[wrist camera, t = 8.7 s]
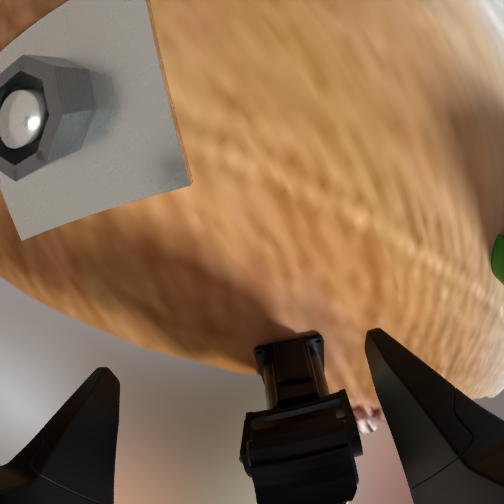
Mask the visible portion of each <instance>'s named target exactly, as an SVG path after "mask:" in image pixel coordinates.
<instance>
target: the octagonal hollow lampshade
mask: <svg viewBox="0 0 504 504" xmlns="http://www.w3.org/2000/svg"><path fill="white" fill-rule="evenodd" d="M41 81H42V82H43V88H44V93H45V98H46V103H47V108H48V112H49V117H48V120H47V123H46V126H45V129H44V132H43V135H42V138H41V141H40V144H38V143H37V142H33V143H30V144H27V145H24V146H22V147H19V148H15V149H14V148H9V147H8V146H6V145H5V144H4V142H3V141H2V139H1V137H0V171H1V172H2V173H4V174H5V175H6V176H8V177H9V178H11V179H12V180H14V181H15V182H17V181H18V180H20V179H22V178H24V177H26V176H28V175H30V174H32V173H34V172H35V171H37V170H39V169H41V168H43V167H46V166H48V165H50V164H52V163H54V162H56V161H58V160H59V159H61V158H64V157H66V156H68V155H70V154H72V153H74V152H76V151H78V150H80V149H81V147H82V145H83V142H84V140H85V137H86V135H87V132H88V130H89V128H90V125H91V123H92V121H93V118H94V116H95V114H96V112H97V110H98V108H97V104H96V100H95V95H94V91H93V86H92V82H91V77H90V72H89V69H87V68H84V67H82V66H80V65H77V64H75V63H72V62H70V61H67V60H65V59H62V58H58V57H49V56H38V55H22V56H21V57H19V58H18V59H17V60H16V61H14V62H13V63H12V64H11V65H10V66H9V67H7V68H6V69H5V70H4V71H3V72H2V73H1V74H0V110H1V107H2V105H3V103H4V101H5V100H6V98H7V97H8V96H9V95H10V94H11V93H13V92H15V91H19V90H28V89H34V88H35V86H36V85H37V84H39V83H40V82H41Z"/></svg>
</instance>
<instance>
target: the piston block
mask: <svg viewBox="0 0 504 504" xmlns="http://www.w3.org/2000/svg"><path fill="white" fill-rule="evenodd" d="M22 55H38V56H49V57H58V58H62V59H65V60H67V61H70V62H72V63H75V64H77V65H80V66H82V67H84V68H87V69H89V72H90V77H91V82H92V86H93V91H94V95H95V100H96V104H97V108H98V110H97V112H96V114H95V116H94V118H93V121H92V123H91V125H90V128H89V130H88V132H87V135H86V137H85V140H84V142H83V145H82V147H81V149H80V150H78V151H76V152H74V153H72V154H70V155H68V156H66V157H64V158H61V159H59V160H58V161H56V162H54V163H52V164H50V165H48V166H46V167H43V168H41V169H39V170H37V171H35V172H34V173H32V174H30V175H28V176H26V177H24V178H22V179H20V180H18V181H17V182H15V181H14V180H12V179H11V178H9V177H8V176H6V175H5V174H4V173H2V172H1V171H0V188H1V191H2V194H3V197H4V200H5V202H6V205H7V207H8V210H9V213H10V215H11V217H12V220H13V222H14V225H15V227H16V229H17V231H18V234H19V236H20V238H21V240H25V239H27V238H30V237H32V236H35V235H37V234H40V233H42V232H45V231H47V230H50V229H53V228H55V227H58V226H61V225H63V224H66V223H69V222H72V221H75V220H77V219H80V218H83V217H86V216H89V215H92V214H95V213H98V212H101V211H104V210H107V209H110V208H113V207H116V206H120V205H123V204H126V203H129V202H133V201H136V200H140V199H143V198H146V197H150V196H154V195H157V194H161V193H164V192H168V191H172V190H176V189H179V188H183V187H187V186H191V184H192V182H193V179H192V176H191V172H190V169H189V165H188V161H187V158H186V154H185V150H184V147H183V143H182V139H181V135H180V131H179V128H178V124H177V120H176V116H175V112H174V108H173V104H172V100H171V96H170V92H169V88H168V84H167V79H166V75H165V71H164V67H163V62H162V58H161V53H160V49H159V44H158V40H157V35H156V30H155V26H154V21H153V16H152V11H151V6H150V1H149V0H69V1H67V2H66V3H64V4H63V5H61V6H59V7H58V8H56V9H55V10H53V11H52V12H50V13H49V14H47V15H46V16H44V17H43V18H42V19H40V20H39V21H37V22H36V23H35V24H33V25H32V26H31V27H29V28H28V29H27V30H26V31H24V32H23V33H22V34H21V35H19V36H18V37H17V38H16V39H15V40H13V41H12V42H11V43H10V44H9V45H8V46H6V47H5V48H4V49H3V50H2V51H1V52H0V74H1V73H2V72H3V71H4V70H5V69H6V68H7V67H9V66H10V65H11V64H12V63H13V62H14V61H16V60H17V59H18V58H19V57H21V56H22ZM48 117H49V112H48V108H47V103H46V98H45V93H44V88H43V82H42V81H41V82H40V83H39V84H37V85H36V86H35V88H34V89H28V90H19V91H15V92H13V93H11V94H10V95H9V96H8V97H7V98H6V100H5V101H4V103H3V105H2V107H1V110H0V137H1V139H2V141H3V142H4V144H5V145H6V146H8V147H9V148H14V149H15V148H19V147H22V146H24V145H27V144H30V143H33V142H37V143H38V144H40V141H41V138H42V135H43V132H44V129H45V126H46V123H47V120H48Z"/></svg>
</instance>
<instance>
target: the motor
mask: <svg viewBox="0 0 504 504" xmlns="http://www.w3.org/2000/svg"><path fill="white" fill-rule="evenodd" d="M492 271H493V274H494V275H495V277H496V278H497V279H498V280H499V281H500V282H501V283H502V284H503V285H504V236H503V237H502V236H501V235H498V237H497V239H496V242H495V246H494V249H493V254H492Z"/></svg>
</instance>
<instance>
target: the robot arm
mask: <svg viewBox="0 0 504 504" xmlns="http://www.w3.org/2000/svg"><path fill="white" fill-rule="evenodd" d="M365 353H366V357H367V360H368V364H369V368H370V371H371V375H372V379H373V383H374V387H375V390H376V393H377V396H378V399H379V402H380V404H381V407H382V409H383V412H384V415H385V417H386V420H387V423H388V425H389V428H390V431H391V434H392V436H393V439H394V442H395V445H396V448H397V451H398V454H399V457H400V460H401V463H402V466H403V469H404V472H405V475H406V478H407V481H408V485H409V488H410V492H411V495H412V499H413V502H414V504H504V421H503V420H502V419H500V418H499V417H497V416H495V415H494V414H492V413H491V412H489V411H487V410H486V409H484V408H483V407H481V406H480V405H478V404H477V403H475V402H474V401H473V400H471V399H470V398H469V397H467V396H466V395H465V394H463V393H462V392H461V391H460V390H458V389H457V388H455V387H454V386H453V385H452V384H451V383H449V382H448V381H447V380H446V379H444V378H443V377H442V376H441V375H439V374H438V373H437V372H436V371H434V370H433V369H432V368H431V367H429V366H428V365H427V364H426V363H424V362H423V361H422V360H420V359H419V358H418V357H417V356H415V355H414V354H413V353H412V352H410V351H409V350H408V349H406V348H405V347H404V346H403V345H401V344H400V343H399V342H397V341H396V340H395V339H394V338H392V337H391V336H390V335H388V334H387V333H386V332H385V331H383V330H382V329H380V328H375V329H371V330H368V331H367V333H366V341H365ZM254 354H255V357H256V361H257V364H258V367H259V370H260V373H261V376H262V379H263V382H264V384H265V393H266V404H267V410H263V411H258V412H247V413H246V418H245V421H244V428H243V435H242V442H241V449H240V457H239V459H240V462H241V463H242V464H243V466H244V469H245V471H246V473H247V474H248V476H249V477H251V478H252V480H253V483H254V487H255V493H256V499H257V504H348V503H349V501H352V500H353V498H354V495H355V493H356V490H357V484H358V481H359V478H358V474H357V468H356V463H355V459H354V457H357V456H361V455H363V451H362V444H361V440H360V435H359V431H358V428H357V424H356V421H355V418H354V414H353V411H352V408H351V405H350V402H349V399H348V396H347V393H346V390H345V389H342V390H339V392H336V393H333V394H329V390H328V386H327V382H326V378H325V374H324V340H323V337H322V336H321V335H314V336H310V337H305V338H300V339H295V340H290V341H285V342H279V343H274V344H268V345H262V346H257V347H255V348H254ZM119 399H120V383H119V380H118V379H117V377H116V376H115V375H114V374H113V373H112V372H111V370H110V369H109V368H107V367H99V368H97V369H96V370H95V371H94V372H93V373H92V374H91V375H90V376H89V377H88V378H87V380H86V381H85V382H84V383H83V384H82V385H81V386H80V387H79V388H78V389H77V390H76V391H75V392H74V394H73V395H72V396H71V397H70V398H69V399H68V400H67V401H66V402H65V404H64V405H63V406H62V407H61V408H60V409H59V410H58V411H57V413H56V414H55V415H54V416H53V417H52V418H51V419H50V420H49V421H48V423H47V424H46V425H45V426H44V428H42V429H41V430H40V432H39V433H38V434H37V435H36V436H35V437H34V438H33V439H32V440H31V441H30V442H29V444H27V445H26V447H24V448H23V449H22V450H21V451H20V452H19V453H18V454H17V455H16V456H15V457H14V458H13V459H12V460H11V461H10V462H9V463H7V464H5V465H3V466H0V504H114V473H115V457H116V445H117V434H118V425H119Z"/></svg>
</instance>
